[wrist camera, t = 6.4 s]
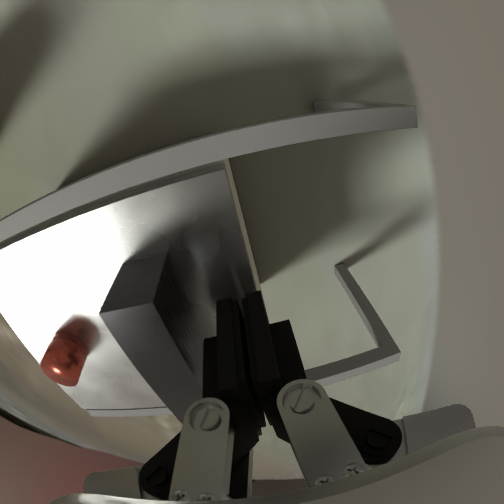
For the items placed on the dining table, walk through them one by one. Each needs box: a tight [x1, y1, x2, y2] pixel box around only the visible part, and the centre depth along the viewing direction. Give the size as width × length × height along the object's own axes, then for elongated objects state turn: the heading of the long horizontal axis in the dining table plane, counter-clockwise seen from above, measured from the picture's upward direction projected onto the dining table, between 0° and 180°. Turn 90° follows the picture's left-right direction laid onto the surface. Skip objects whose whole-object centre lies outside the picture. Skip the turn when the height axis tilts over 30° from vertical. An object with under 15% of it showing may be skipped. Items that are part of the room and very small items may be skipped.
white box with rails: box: [0, 101, 418, 416], centre depth 16 cm, size 14×22×10 cm, turn 102°
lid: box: [0, 164, 257, 424], centre depth 11 cm, size 11×13×4 cm
